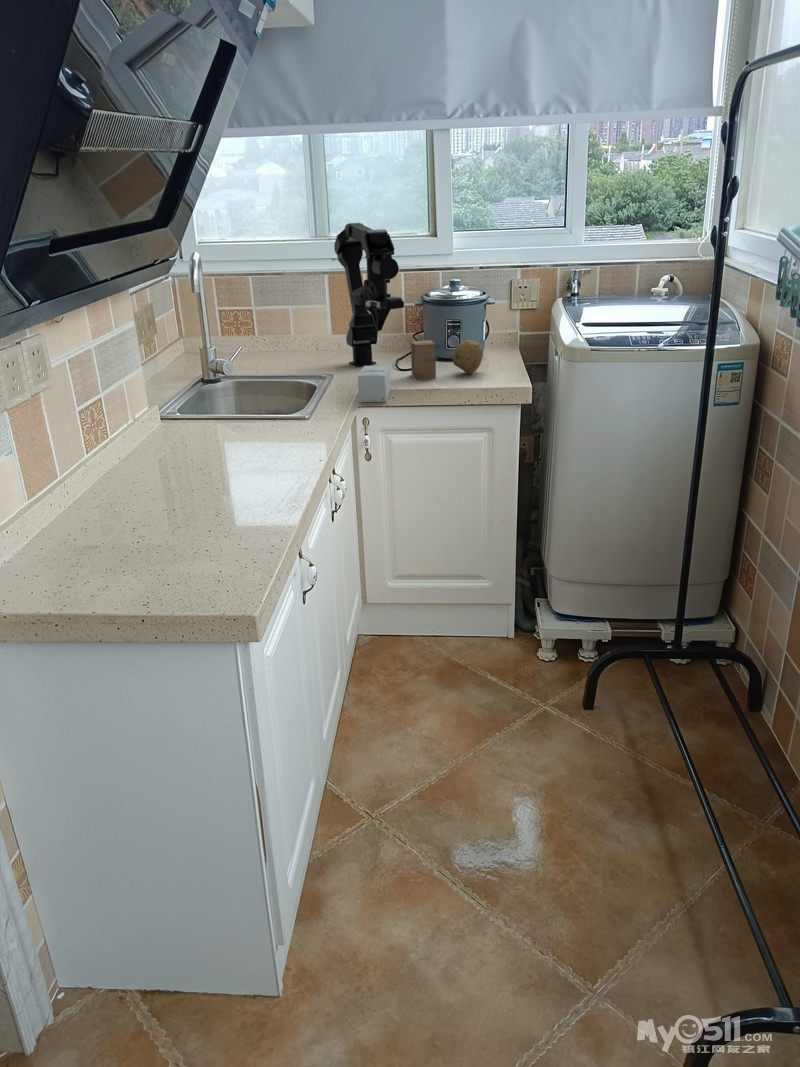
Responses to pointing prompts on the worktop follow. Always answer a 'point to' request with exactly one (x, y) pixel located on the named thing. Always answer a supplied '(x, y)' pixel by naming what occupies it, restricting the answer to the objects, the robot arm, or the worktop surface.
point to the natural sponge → (468, 356)
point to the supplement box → (374, 384)
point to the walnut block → (423, 359)
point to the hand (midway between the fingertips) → (379, 330)
